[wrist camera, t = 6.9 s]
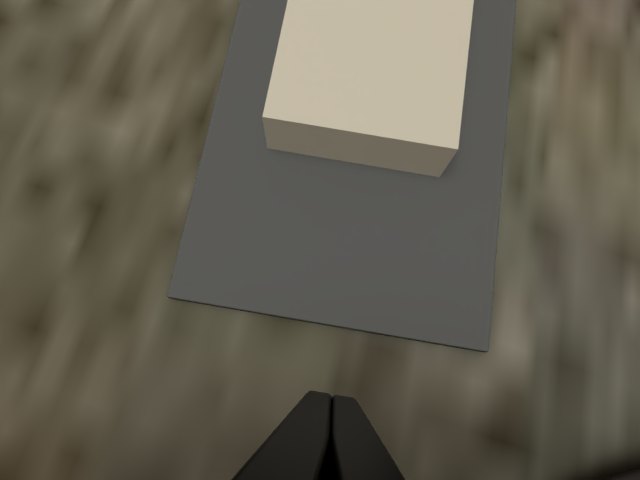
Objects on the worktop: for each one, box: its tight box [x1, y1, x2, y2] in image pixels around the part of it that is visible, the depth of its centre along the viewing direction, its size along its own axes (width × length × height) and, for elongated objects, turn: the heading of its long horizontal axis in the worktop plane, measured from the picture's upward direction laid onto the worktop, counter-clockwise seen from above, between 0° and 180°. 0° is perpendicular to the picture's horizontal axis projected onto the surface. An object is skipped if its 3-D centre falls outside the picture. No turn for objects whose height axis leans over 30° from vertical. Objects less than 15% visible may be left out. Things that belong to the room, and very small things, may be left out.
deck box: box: [262, 0, 474, 177], centre depth 21 cm, size 3×7×11 cm
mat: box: [167, 0, 516, 352], centre depth 22 cm, size 20×12×1 cm, turn 170°
